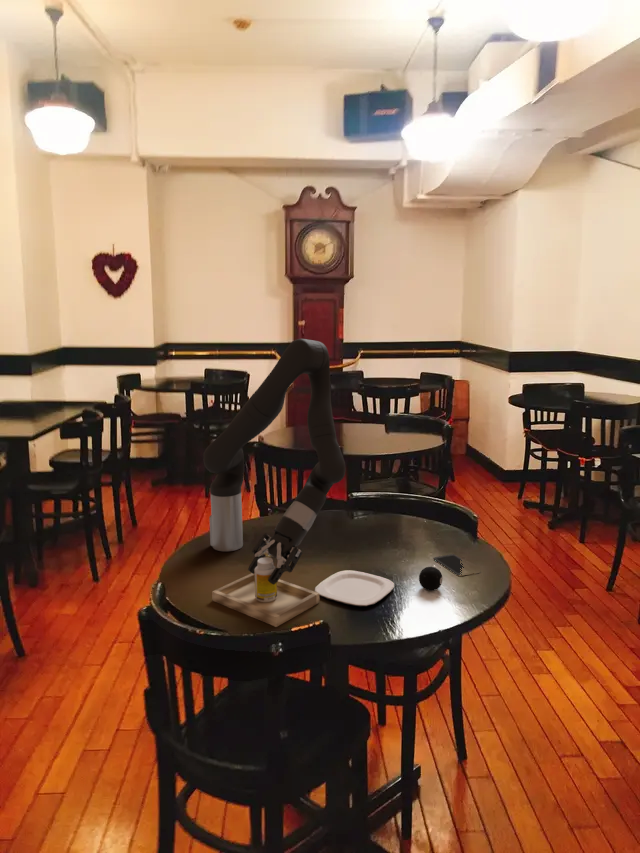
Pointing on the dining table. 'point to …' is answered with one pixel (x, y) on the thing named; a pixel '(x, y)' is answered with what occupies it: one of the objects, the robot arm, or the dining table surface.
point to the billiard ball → (430, 578)
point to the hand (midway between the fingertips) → (260, 577)
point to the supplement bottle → (264, 580)
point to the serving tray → (274, 612)
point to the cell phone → (450, 562)
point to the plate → (355, 588)
